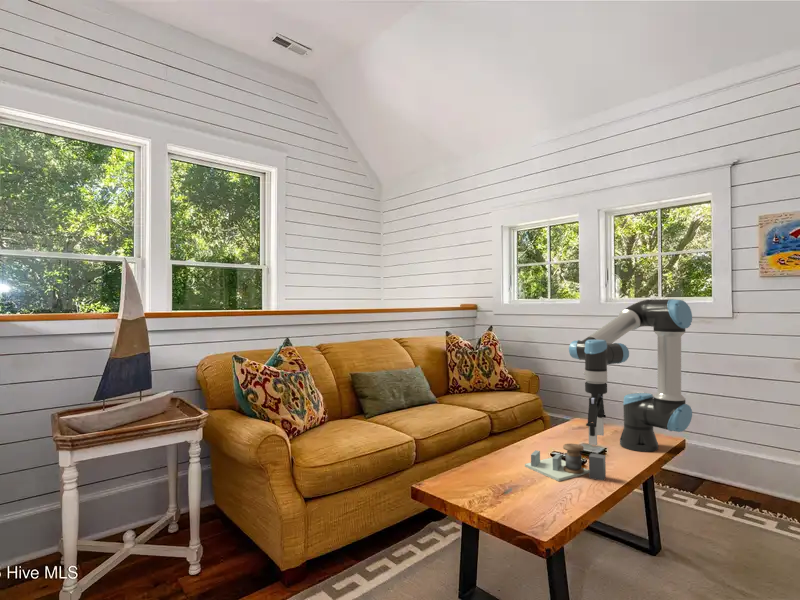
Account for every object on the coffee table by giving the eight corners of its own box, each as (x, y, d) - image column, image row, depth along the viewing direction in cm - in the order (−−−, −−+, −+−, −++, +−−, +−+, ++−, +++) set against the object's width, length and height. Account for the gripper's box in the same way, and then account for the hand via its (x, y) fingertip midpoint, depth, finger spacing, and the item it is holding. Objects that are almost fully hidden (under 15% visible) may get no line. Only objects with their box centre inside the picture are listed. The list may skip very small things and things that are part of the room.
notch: (535, 461, 191) (535, 450, 191) (561, 465, 185) (561, 454, 185) (531, 466, 186) (530, 454, 186) (557, 470, 180) (557, 459, 180)
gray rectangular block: (591, 474, 179) (591, 453, 179) (605, 476, 176) (605, 455, 176) (589, 478, 175) (588, 456, 175) (603, 480, 173) (603, 458, 173)
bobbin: (572, 465, 185) (572, 442, 185) (588, 471, 179) (587, 447, 179) (559, 469, 182) (559, 445, 182) (574, 475, 176) (574, 450, 176)
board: (554, 459, 196) (554, 456, 196) (589, 472, 180) (589, 470, 180) (524, 466, 188) (524, 463, 188) (558, 481, 173) (558, 478, 173)
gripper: (591, 376, 188) (592, 430, 188) (577, 386, 167) (578, 447, 167) (612, 377, 184) (612, 432, 184) (600, 388, 163) (601, 450, 163)
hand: (596, 439), depth 175 cm, fingers open, 13 cm apart
